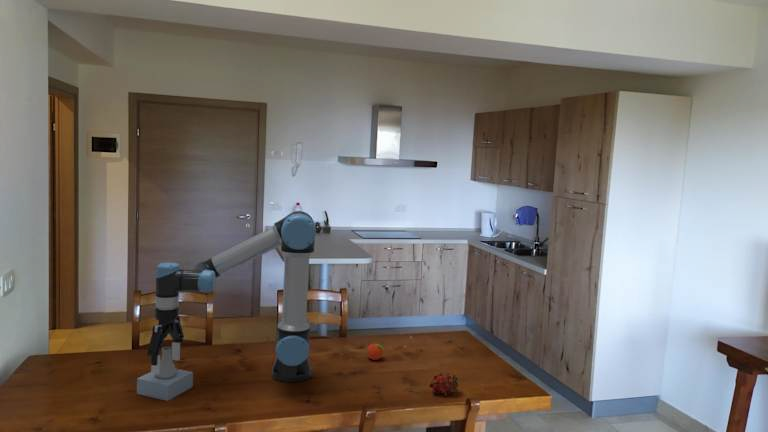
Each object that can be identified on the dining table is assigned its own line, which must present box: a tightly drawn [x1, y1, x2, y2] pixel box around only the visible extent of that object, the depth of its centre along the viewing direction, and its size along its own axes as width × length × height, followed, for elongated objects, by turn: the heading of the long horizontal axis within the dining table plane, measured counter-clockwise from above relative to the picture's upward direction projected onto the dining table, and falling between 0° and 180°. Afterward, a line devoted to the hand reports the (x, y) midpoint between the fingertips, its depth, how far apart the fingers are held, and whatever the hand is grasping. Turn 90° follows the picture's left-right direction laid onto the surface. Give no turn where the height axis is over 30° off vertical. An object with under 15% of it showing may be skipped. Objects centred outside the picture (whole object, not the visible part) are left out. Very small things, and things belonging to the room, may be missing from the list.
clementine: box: [366, 343, 385, 361], centre depth 236 cm, size 8×7×7 cm
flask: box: [155, 346, 177, 379], centre depth 193 cm, size 7×7×10 cm
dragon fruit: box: [429, 371, 459, 396], centre depth 205 cm, size 8×8×12 cm
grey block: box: [136, 368, 194, 402], centre depth 194 cm, size 13×13×6 cm
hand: (165, 366), depth 194 cm, fingers open, 13 cm apart
